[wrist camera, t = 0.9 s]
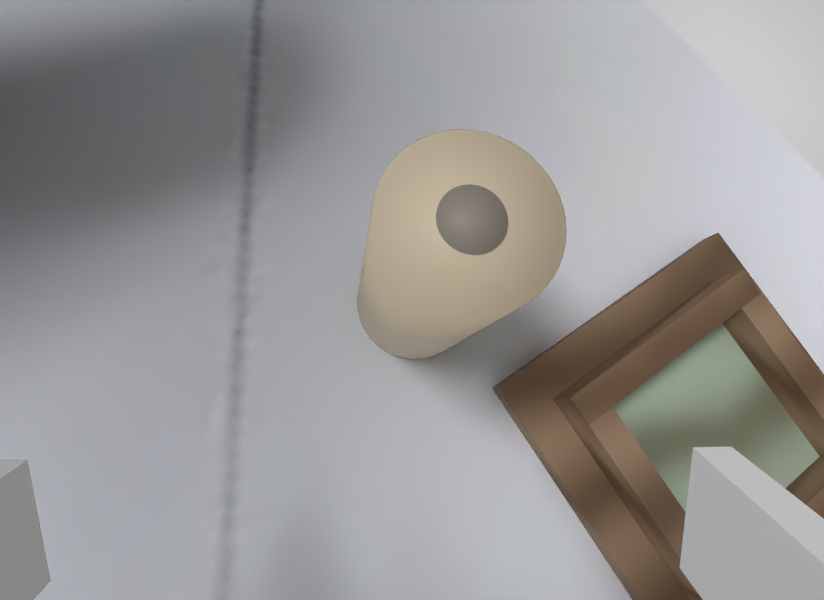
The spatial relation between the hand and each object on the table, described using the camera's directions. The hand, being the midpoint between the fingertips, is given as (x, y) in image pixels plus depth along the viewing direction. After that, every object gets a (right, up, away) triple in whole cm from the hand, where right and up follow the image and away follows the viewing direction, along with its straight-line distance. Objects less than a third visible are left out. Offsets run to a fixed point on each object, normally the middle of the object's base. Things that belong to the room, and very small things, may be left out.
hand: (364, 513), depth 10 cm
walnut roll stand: (+16, -3, +17) cm, 24 cm away
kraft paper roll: (+1, +4, +17) cm, 17 cm away
